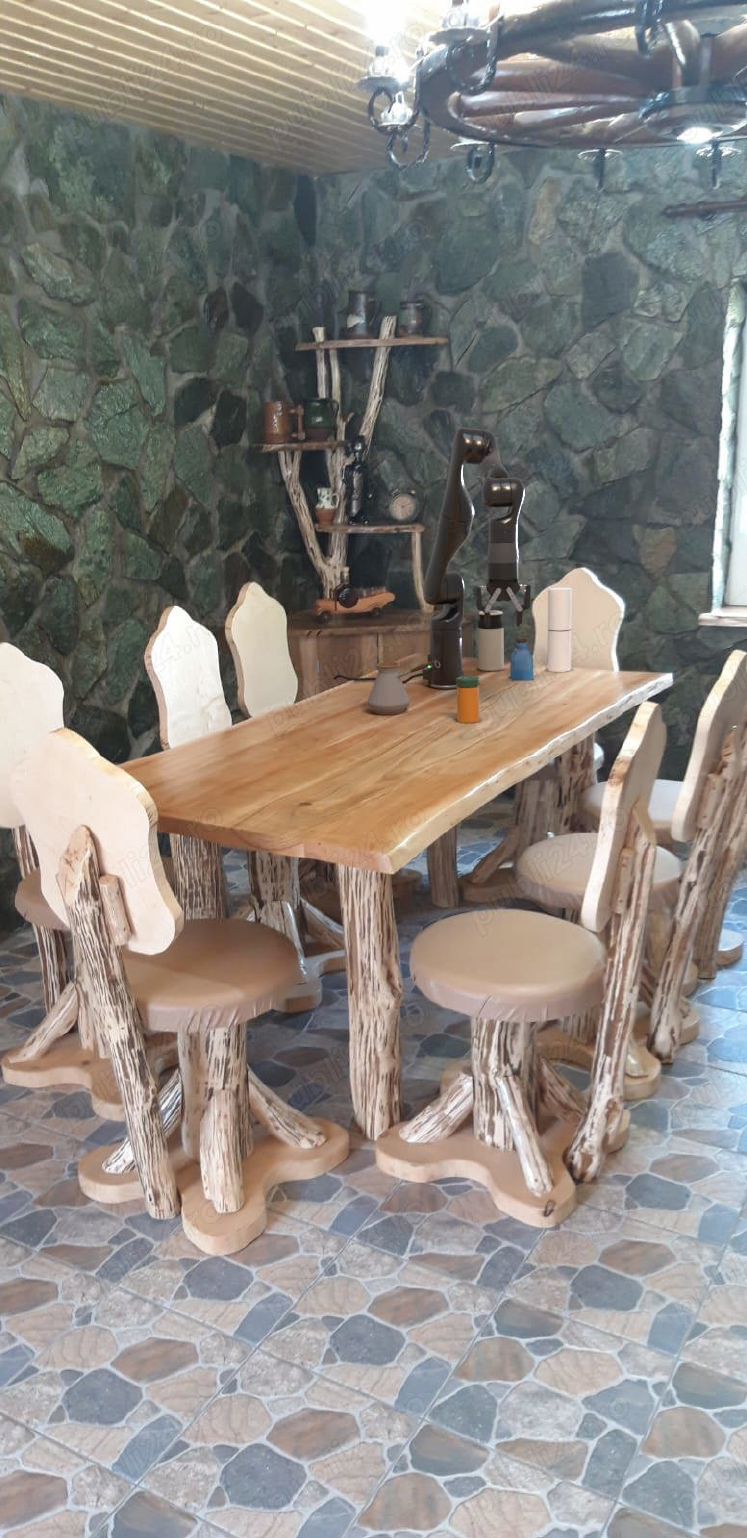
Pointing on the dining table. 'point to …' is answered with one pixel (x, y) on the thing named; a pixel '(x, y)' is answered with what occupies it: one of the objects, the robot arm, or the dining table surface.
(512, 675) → the perfume bottle
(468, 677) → the honey lid
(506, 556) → the robot arm
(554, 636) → the cylindrical container
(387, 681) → the coffee pot
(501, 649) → the travel mug
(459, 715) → the honey jar
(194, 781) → the dining table surface
